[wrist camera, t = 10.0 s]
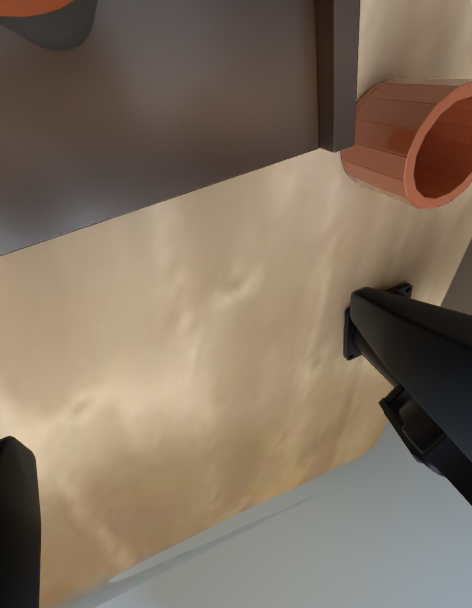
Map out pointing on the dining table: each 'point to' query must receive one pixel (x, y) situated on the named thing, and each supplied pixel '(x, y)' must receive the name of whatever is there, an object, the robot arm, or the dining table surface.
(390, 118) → the pen cup
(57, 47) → the marker
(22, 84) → the dark wooden box
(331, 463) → the dining table surface
